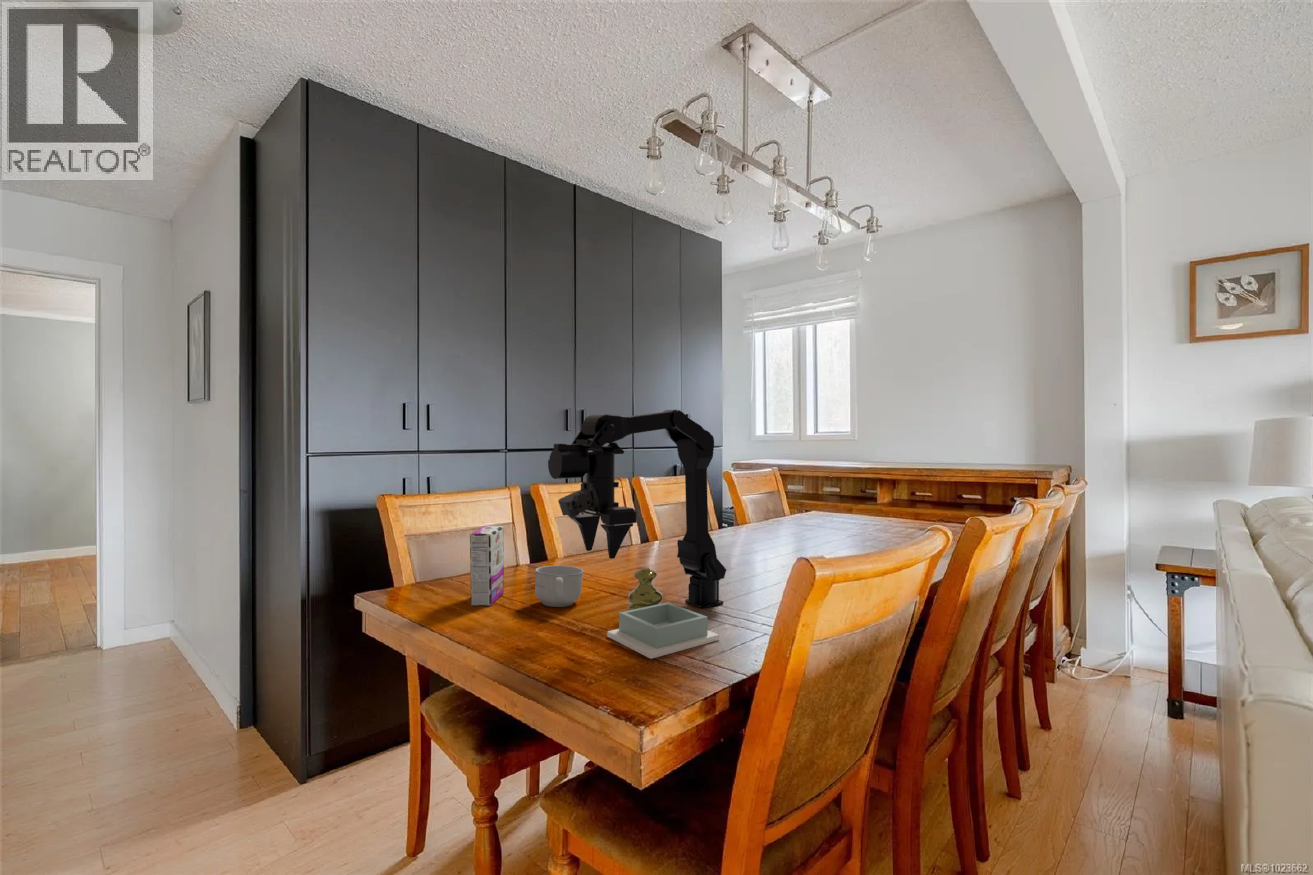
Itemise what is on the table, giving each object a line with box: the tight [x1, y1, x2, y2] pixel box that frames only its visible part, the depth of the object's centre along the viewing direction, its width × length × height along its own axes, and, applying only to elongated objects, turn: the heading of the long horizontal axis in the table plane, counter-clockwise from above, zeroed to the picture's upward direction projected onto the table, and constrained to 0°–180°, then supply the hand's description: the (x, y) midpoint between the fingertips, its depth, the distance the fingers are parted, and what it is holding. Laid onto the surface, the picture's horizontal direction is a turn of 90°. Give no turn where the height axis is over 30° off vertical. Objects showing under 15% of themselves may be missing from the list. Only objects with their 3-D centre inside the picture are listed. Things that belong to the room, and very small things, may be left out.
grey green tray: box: [607, 601, 720, 659], centre depth 114 cm, size 16×14×4 cm
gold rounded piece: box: [627, 567, 663, 611], centre depth 129 cm, size 7×7×10 cm
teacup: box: [534, 564, 584, 608], centre depth 135 cm, size 14×11×8 cm
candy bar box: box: [469, 525, 505, 607], centre depth 140 cm, size 11×5×16 cm, turn 179°
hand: (600, 554), depth 121 cm, fingers open, 9 cm apart
